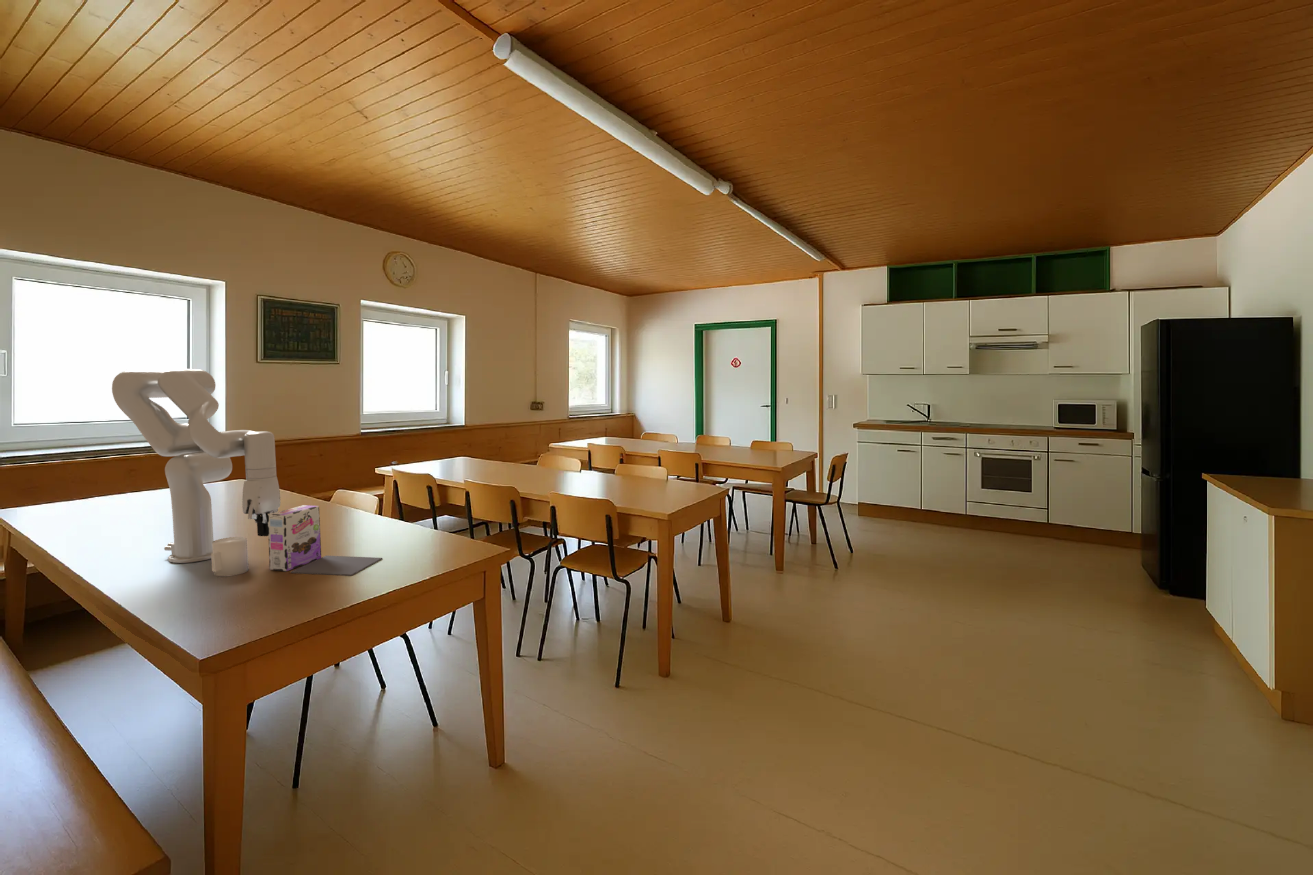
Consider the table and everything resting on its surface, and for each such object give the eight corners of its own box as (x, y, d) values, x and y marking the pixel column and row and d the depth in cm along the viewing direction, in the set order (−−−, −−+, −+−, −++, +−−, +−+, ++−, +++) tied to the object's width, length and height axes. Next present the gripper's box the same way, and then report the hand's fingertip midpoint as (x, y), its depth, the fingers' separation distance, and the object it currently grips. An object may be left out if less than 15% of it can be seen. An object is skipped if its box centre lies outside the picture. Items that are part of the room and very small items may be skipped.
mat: (290, 573, 172) (290, 571, 172) (326, 556, 188) (326, 555, 187) (351, 575, 170) (351, 574, 170) (382, 559, 186) (382, 557, 186)
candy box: (286, 572, 173) (283, 514, 171) (268, 570, 174) (266, 513, 172) (322, 558, 186) (320, 505, 185) (305, 556, 187) (303, 503, 186)
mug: (200, 577, 167) (198, 545, 166) (229, 566, 176) (227, 536, 176) (227, 579, 166) (226, 546, 165) (255, 568, 176) (253, 537, 175)
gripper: (267, 469, 186) (270, 529, 188) (229, 477, 171) (233, 541, 173) (290, 470, 185) (293, 529, 187) (254, 478, 171) (257, 542, 172)
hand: (264, 535), depth 180 cm, fingers closed
